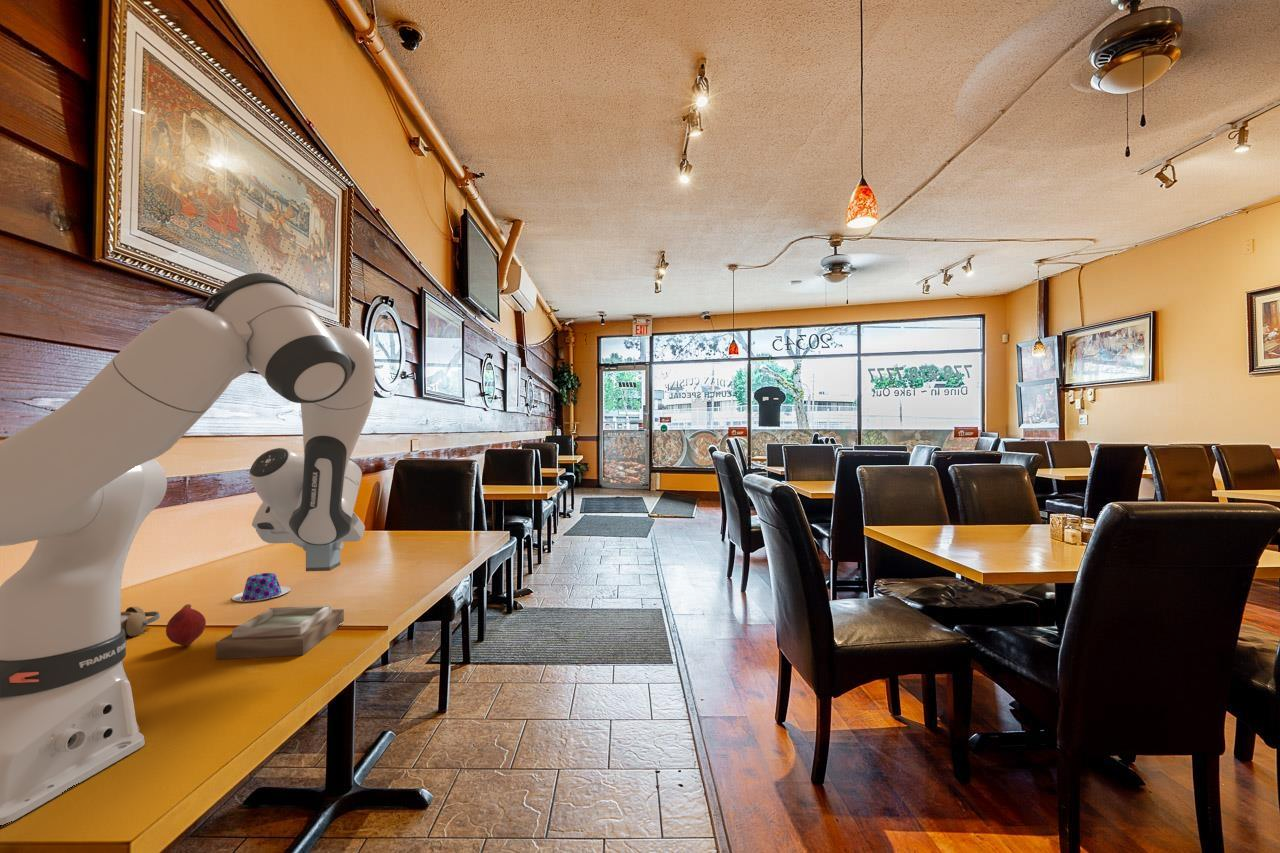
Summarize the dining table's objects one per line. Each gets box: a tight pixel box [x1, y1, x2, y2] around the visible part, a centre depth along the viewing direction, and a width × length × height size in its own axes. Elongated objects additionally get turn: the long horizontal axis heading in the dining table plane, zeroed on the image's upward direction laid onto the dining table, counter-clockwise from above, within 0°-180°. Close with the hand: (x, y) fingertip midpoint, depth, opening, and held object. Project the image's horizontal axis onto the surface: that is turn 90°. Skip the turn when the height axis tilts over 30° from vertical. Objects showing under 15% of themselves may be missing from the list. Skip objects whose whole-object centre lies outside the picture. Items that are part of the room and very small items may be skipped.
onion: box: [165, 603, 207, 647], centre depth 103 cm, size 6×6×8 cm
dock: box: [215, 605, 345, 660], centre depth 106 cm, size 16×15×4 cm
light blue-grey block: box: [305, 542, 341, 572], centre depth 121 cm, size 5×5×8 cm
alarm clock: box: [121, 606, 160, 638], centre depth 109 cm, size 11×5×15 cm
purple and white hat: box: [231, 572, 291, 602], centre depth 135 cm, size 12×12×5 cm
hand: (324, 547), depth 121 cm, fingers closed on light blue-grey block, 5 cm apart
